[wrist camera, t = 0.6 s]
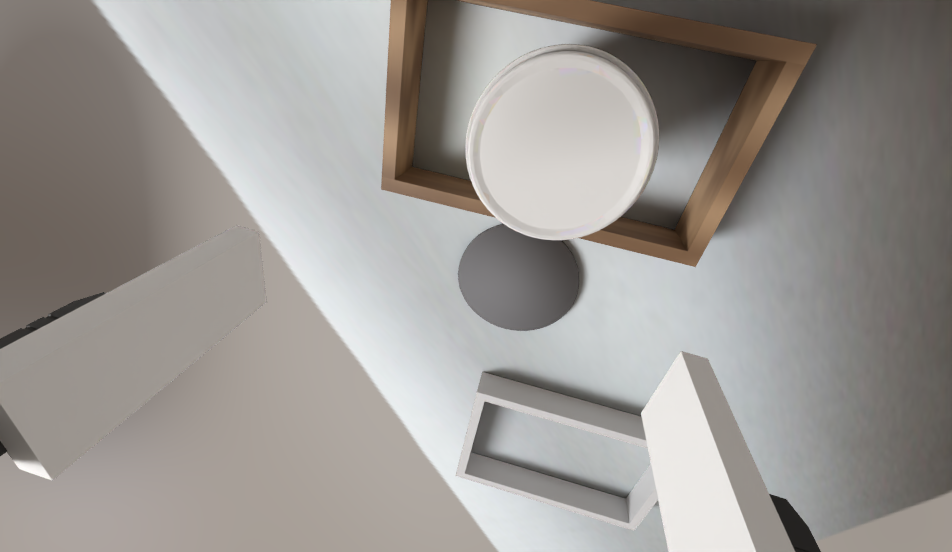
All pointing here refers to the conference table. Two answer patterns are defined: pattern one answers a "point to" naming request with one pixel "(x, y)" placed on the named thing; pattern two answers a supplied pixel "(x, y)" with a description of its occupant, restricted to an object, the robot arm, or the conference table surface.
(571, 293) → the coaster
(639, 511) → the gray rectangular frame
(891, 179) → the conference table surface
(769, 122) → the frame
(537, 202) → the coffee cup
